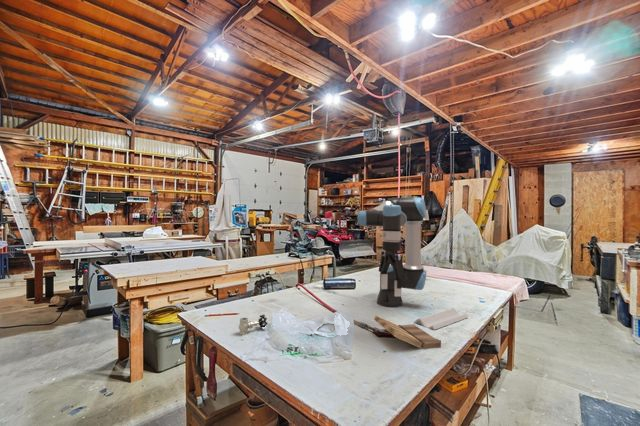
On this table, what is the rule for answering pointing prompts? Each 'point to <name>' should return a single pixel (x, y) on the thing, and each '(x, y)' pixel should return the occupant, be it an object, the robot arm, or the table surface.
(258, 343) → the table surface
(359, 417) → the table surface
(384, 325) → the oak plank
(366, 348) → the table surface
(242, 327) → the valve
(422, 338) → the walnut floor board
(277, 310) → the table surface
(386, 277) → the robot arm
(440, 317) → the crown molding
